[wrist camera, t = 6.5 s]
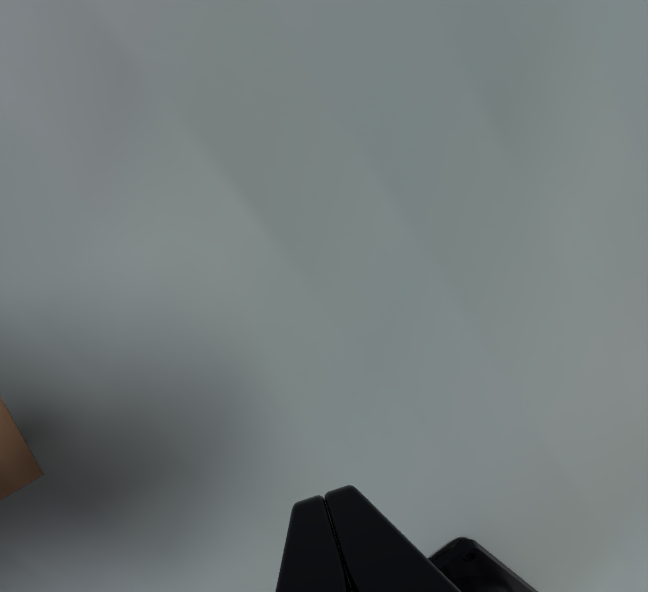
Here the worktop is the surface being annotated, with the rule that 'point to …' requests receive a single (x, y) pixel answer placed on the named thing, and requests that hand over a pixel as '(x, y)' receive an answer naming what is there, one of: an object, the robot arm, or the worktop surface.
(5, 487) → the brown rectangular block
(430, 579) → the robot arm
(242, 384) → the worktop surface
